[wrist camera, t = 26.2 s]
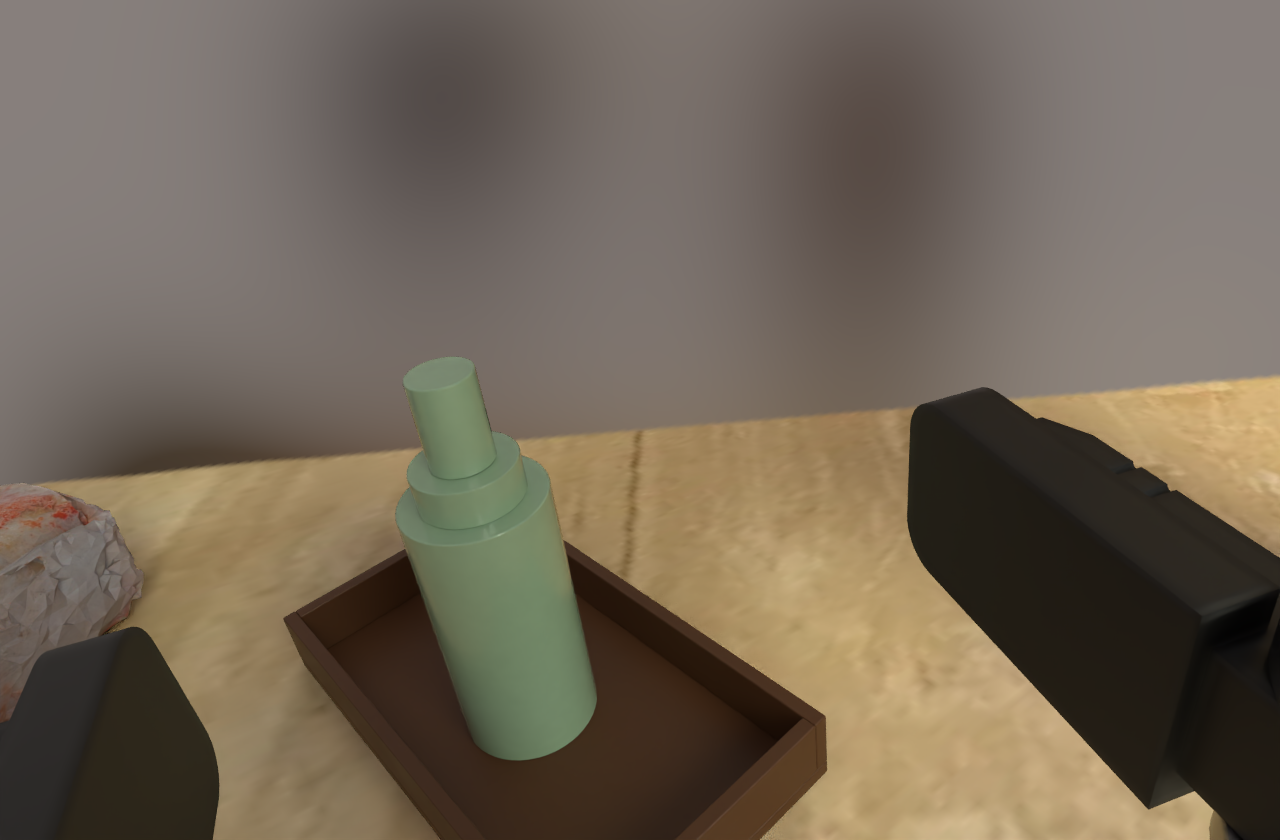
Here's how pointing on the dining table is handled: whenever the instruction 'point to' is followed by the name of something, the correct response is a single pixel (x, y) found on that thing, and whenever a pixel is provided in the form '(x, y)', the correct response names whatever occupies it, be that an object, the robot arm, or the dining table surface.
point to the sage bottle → (493, 571)
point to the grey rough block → (56, 579)
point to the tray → (602, 753)
